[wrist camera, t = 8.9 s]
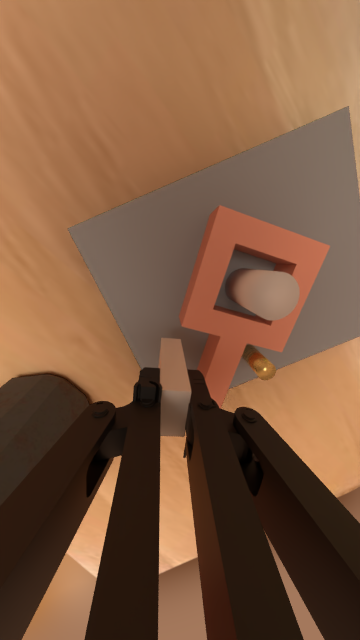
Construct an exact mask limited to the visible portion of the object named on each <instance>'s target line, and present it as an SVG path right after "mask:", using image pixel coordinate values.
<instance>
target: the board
mask: <svg viewBox="0 0 360 640" xmlns="http://www.w3.org/2000/svg"><path fill="white" fill-rule="evenodd" d="M219 205H221V206H224V207H227V208H229V209H232V210H235V211H237V212H240V213H243V214H245V215H248V216H251V217H254V218H256V219H259V220H262V221H264V222H267V223H270V224H272V225H275V226H278V227H281V228H283V229H286V230H289V231H291V232H294V233H297V234H299V235H302V236H305V237H308V238H310V239H313V240H316V241H318V242H321V243H324V244H327V245H329V246H330V248H329V250H328V252H327V255H326V257H325V259H324V261H323V263H322V266H321V268H320V270H319V272H318V274H317V277H316V279H315V281H314V283H313V285H312V288H311V290H310V292H309V294H308V296H307V299H306V301H305V303H304V305H303V307H302V309H301V312H300V314H299V316H298V318H297V320H296V323H295V325H294V327H293V329H292V331H291V334H290V336H289V338H288V340H287V342H286V345H285V347H284V349H283V351H282V352H278V351H274V350H270V349H267V348H263V347H259V346H255V345H253V346H254V347H255V348H256V349H257V350H258V351H259V352H260V353H261V354H262V355H264V356H265V357H266V358H267V359H268V360H269V361H270V362H271V363H272V364H273V365H274V366H275V367H276V370H277V369H280V368H282V367H285V366H287V365H290V364H292V363H295V362H297V361H300V360H302V359H305V358H307V357H310V356H312V355H315V354H317V353H320V352H322V351H325V350H327V349H329V348H332V347H334V346H337V345H339V344H342V343H344V342H347V341H349V340H352V339H354V338H357V337H359V336H360V197H359V188H358V180H357V171H356V163H355V155H354V146H353V138H352V129H351V121H350V113H349V106H348V107H345V108H343V109H341V110H338V111H336V112H334V113H331V114H329V115H327V116H325V117H322V118H320V119H318V120H315V121H313V122H311V123H309V124H306V125H304V126H302V127H299V128H297V129H295V130H292V131H290V132H288V133H286V134H283V135H281V136H279V137H276V138H274V139H272V140H270V141H267V142H265V143H263V144H260V145H258V146H256V147H253V148H251V149H249V150H247V151H244V152H242V153H240V154H237V155H235V156H233V157H230V158H228V159H226V160H224V161H221V162H219V163H217V164H214V165H212V166H210V167H208V168H205V169H203V170H201V171H198V172H196V173H194V174H191V175H189V176H187V177H185V178H182V179H180V180H178V181H175V182H173V183H171V184H169V185H166V186H164V187H162V188H159V189H157V190H155V191H152V192H150V193H148V194H146V195H143V196H141V197H139V198H136V199H134V200H132V201H129V202H127V203H125V204H123V205H120V206H118V207H116V208H113V209H111V210H109V211H107V212H104V213H102V214H100V215H97V216H95V217H93V218H90V219H88V220H86V221H84V222H81V223H79V224H77V225H74V226H72V227H70V228H68V231H69V233H70V235H71V237H72V238H73V240H74V242H75V244H76V246H77V248H78V250H79V252H80V254H81V255H82V257H83V259H84V261H85V263H86V265H87V267H88V269H89V271H90V273H91V274H92V276H93V278H94V280H95V282H96V284H97V286H98V288H99V290H100V292H101V293H102V295H103V297H104V299H105V301H106V303H107V305H108V307H109V309H110V311H111V312H112V314H113V316H114V318H115V320H116V322H117V324H118V326H119V328H120V330H121V331H122V333H123V335H124V337H125V339H126V341H127V343H128V345H129V347H130V349H131V350H132V352H133V354H134V356H135V358H136V360H137V362H138V364H139V366H140V367H141V369H143V368H144V367H151V368H158V367H159V357H160V347H161V338H172V339H181V344H182V348H183V353H184V358H185V363H186V368H187V369H190V370H197V368H198V365H199V362H200V359H201V356H202V353H203V350H204V348H205V345H206V342H207V339H208V336H209V333H205V332H201V331H198V330H194V329H190V328H186V327H182V326H181V322H180V319H179V314H180V311H181V308H182V304H183V301H184V298H185V295H186V291H187V288H188V285H189V282H190V278H191V275H192V272H193V268H194V265H195V262H196V259H197V255H198V252H199V249H200V246H201V242H202V239H203V236H204V232H205V229H206V226H207V223H208V219H209V216H210V214H211V213H212V212H213V211H214V210H215V209H216V208H217V207H218V206H219ZM275 266H276V263H273V262H270V261H267V260H264V259H261V258H258V257H255V256H252V255H250V254H247V253H244V252H241V251H238V250H235V249H234V250H233V253H232V256H231V259H230V261H229V264H228V267H227V270H226V273H225V276H224V279H223V282H222V285H221V288H220V290H219V293H218V296H217V299H216V302H215V305H217V306H220V307H224V308H227V309H231V310H234V311H238V312H241V313H245V314H248V315H252V316H255V315H258V316H260V317H262V318H264V319H266V320H279V319H282V318H284V317H286V316H287V315H289V314H290V313H291V312H292V311H293V310H294V308H295V307H296V305H297V303H298V300H299V295H300V290H299V285H298V283H297V281H296V280H295V278H294V277H293V276H291V275H290V274H288V273H285V272H278V271H274V268H275ZM246 345H247V344H246ZM250 345H251V344H250ZM257 377H258V376H257V374H256V373H255V372H254V371H253V370H252V368H251V367H250V366H249V365H248V364H247V362H246V361H245V360H244V359H243V358H242V357H241V359H240V361H239V364H238V366H237V369H236V371H235V374H234V376H233V379H232V381H231V384H230V386H229V389H230V388H233V387H235V386H238V385H240V384H243V383H245V382H248V381H250V380H253V379H255V378H257Z"/></svg>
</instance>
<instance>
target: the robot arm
mask: <svg viewBox="0 0 360 640" xmlns="http://www.w3.org/2000/svg"><path fill="white" fill-rule="evenodd" d="M185 430H186V436H187V437H186V443H185V449H184V456H183V458H186V456H187V465H188V474H189V483H190V492H191V501H192V509H193V518H194V527H195V536H196V545H197V554H198V562H199V571H200V580H201V588H202V598H203V606H204V615H205V624H206V633H207V640H304V639H303V636H302V634H301V631H300V628H299V625H298V623H297V620H296V617H295V615H294V612H293V609H292V606H291V604H290V601H289V598H288V595H287V593H286V590H285V587H284V584H283V582H282V579H281V576H280V573H279V571H278V568H277V565H276V562H275V560H274V557H273V554H272V551H271V549H270V546H269V543H268V540H267V538H266V535H265V532H266V534H267V536H268V538H269V540H270V541H271V543H272V545H273V547H274V549H275V550H276V552H277V554H278V556H279V558H280V560H281V561H282V563H283V565H284V567H285V568H286V570H287V572H288V574H289V576H290V578H291V580H292V581H293V583H294V585H295V587H296V589H297V590H298V592H299V594H300V596H301V598H302V600H303V601H304V603H305V605H306V607H307V609H308V610H309V612H310V614H311V616H312V618H313V620H314V621H315V623H316V625H317V627H318V629H319V630H320V632H321V634H322V636H323V638H324V639H325V640H360V523H359V522H358V521H357V520H356V519H355V518H354V517H353V516H352V515H351V514H350V512H349V511H348V510H347V509H346V508H345V507H344V506H343V505H342V504H341V503H340V501H339V500H338V499H337V498H336V497H335V496H334V495H333V494H332V493H331V492H330V490H329V489H328V488H327V487H326V486H325V485H324V484H323V483H322V482H321V481H320V479H319V478H318V477H317V476H316V475H315V474H314V473H313V472H312V471H311V470H310V468H309V467H308V466H307V465H306V464H305V463H304V462H303V461H302V460H301V459H300V458H299V456H298V455H297V454H296V453H295V452H294V451H293V450H292V449H291V448H290V447H289V445H288V444H287V443H286V442H285V441H284V440H283V439H282V438H281V437H280V436H279V434H278V433H277V432H276V431H275V430H274V429H273V428H272V427H271V426H270V425H269V424H268V422H267V421H266V420H265V419H264V418H263V417H262V416H261V415H260V414H259V413H258V412H257V411H255V410H253V409H251V408H247V407H240V408H237V409H236V411H235V413H232V412H228V411H225V410H222V409H220V408H219V406H218V404H217V402H216V401H214V400H213V399H212V398H211V396H210V393H209V390H208V387H207V385H206V382H205V379H204V376H203V374H202V373H201V372H200V371H199V370H190V369H187V368H186V363H185V358H184V353H183V348H182V344H181V339H172V338H161V347H160V357H159V367H158V368H151V367H144V368H143V369H142V370H141V371H140V375H139V380H138V382H137V383H136V384H135V385H134V393H133V401H132V402H131V403H130V404H128V405H126V406H123V407H118V408H115V406H114V405H113V404H112V403H110V402H108V401H99V402H95V403H93V404H90V405H89V406H88V407H87V408H86V409H85V410H84V411H83V412H82V413H81V414H80V416H79V417H78V418H77V419H76V420H75V421H74V422H73V424H72V425H71V426H70V427H69V428H68V429H67V430H66V432H65V433H64V434H63V435H62V436H61V437H60V438H59V440H58V441H57V442H56V443H55V444H54V445H53V446H52V448H51V449H50V450H49V451H48V452H47V453H46V454H45V455H44V457H43V458H42V459H41V460H40V461H39V462H38V463H37V465H36V466H35V467H34V468H33V469H32V470H31V471H30V473H29V474H28V475H27V476H26V477H25V478H24V479H23V481H22V482H21V483H20V484H19V485H18V486H17V487H16V489H15V490H14V491H13V492H12V493H11V494H10V495H9V496H8V498H7V499H6V500H5V501H4V502H3V503H2V504H1V506H0V640H22V638H23V636H24V634H25V632H26V630H27V628H28V626H29V624H30V622H31V620H32V618H33V616H34V614H35V612H36V610H37V608H38V606H39V604H40V602H41V600H42V598H43V596H44V594H45V593H46V591H47V589H48V587H49V585H50V583H51V581H52V579H53V577H54V575H55V573H56V571H57V569H58V567H59V565H60V563H61V561H62V559H63V557H64V555H65V553H66V551H67V550H68V548H69V546H70V544H71V542H72V540H73V538H74V536H75V534H76V532H77V530H78V528H79V526H80V524H81V522H82V520H83V518H84V516H85V514H86V512H87V510H88V508H89V506H90V504H91V503H92V501H93V499H94V497H95V495H96V493H97V491H98V489H99V487H100V485H101V483H102V481H103V479H104V477H105V475H106V473H107V471H108V469H109V467H110V465H111V463H112V461H113V458H114V457H117V456H120V455H122V458H121V463H120V468H119V473H118V478H117V482H116V487H115V492H114V497H113V502H112V507H111V512H110V517H109V522H108V527H107V532H106V537H105V541H104V546H103V551H102V556H101V561H100V566H99V571H98V576H97V581H96V586H95V591H94V596H93V601H92V605H91V611H90V615H89V621H88V625H87V630H86V635H85V640H158V584H159V583H158V582H159V579H158V578H159V504H160V436H180V437H184V436H185ZM264 531H265V532H264Z"/></svg>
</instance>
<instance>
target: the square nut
mask: <svg viewBox="0 0 360 640" xmlns="http://www.w3.org/2000/svg"><path fill="white" fill-rule="evenodd" d="M329 248H330V246H329V245H327V244H324V243H321V242H318V241H316V240H313V239H310V238H308V237H305V236H302V235H299V234H297V233H294V232H291V231H289V230H286V229H283V228H281V227H278V226H275V225H272V224H270V223H267V222H264V221H262V220H259V219H256V218H254V217H251V216H248V215H245V214H243V213H240V212H237V211H235V210H232V209H229V208H227V207H224V206H221V205H219V206H218V207H217V208H216V209H215V210H214V211H213V212H212V213H211V214H210V216H209V219H208V223H207V226H206V229H205V232H204V236H203V239H202V242H201V246H200V249H199V252H198V255H197V259H196V262H195V265H194V268H193V272H192V275H191V278H190V282H189V285H188V288H187V291H186V295H185V298H184V301H183V304H182V308H181V311H180V314H179V319H180V322H181V326H182V327H186V328H190V329H194V330H198V331H201V332H205V333H209V336H208V339H207V342H206V345H205V348H204V350H203V353H202V356H201V359H200V362H199V365H198V368H197V370H199V371H200V372H201V373H202V374H203V376H204V379H205V382H206V385H207V387H208V390H209V393H210V396H211V398H212V399H213V400H214V401H216V402H217V404H218V406H219V408H221V406H222V403H223V401H224V399H225V396H226V394H227V391H228V389H229V386H230V384H231V381H232V379H233V376H234V374H235V371H236V369H237V366H238V364H239V361H240V359H241V357H242V354H243V352H244V349H245V347H246V344H251V345H255V346H259V347H263V348H267V349H270V350H274V351H278V352H282V351H283V349H284V347H285V345H286V342H287V340H288V338H289V336H290V334H291V331H292V329H293V327H294V325H295V323H296V320H297V318H298V316H299V314H300V312H301V309H302V307H303V305H304V303H305V301H306V299H307V296H308V294H309V292H310V290H311V288H312V285H313V283H314V281H315V279H316V277H317V274H318V272H319V270H320V268H321V266H322V263H323V261H324V259H325V257H326V255H327V252H328V250H329ZM234 249H235V250H238V251H241V252H244V253H247V254H250V255H252V256H255V257H258V258H261V259H264V260H267V261H270V262H273V263H276V266H275V268H274V271H278V272H285V273H288V274H290V275H291V276H293V277H294V278H295V280H296V281H297V283H298V285H299V290H300V295H299V300H298V303H297V305H296V307H295V308H294V310H293V311H292V312H291V313H290V314H289V315H287V316H286V317H284V318H282V319H279V320H266V319H264V318H262V317H260V316H258V315H255V316H252V315H248V314H245V313H241V312H238V311H234V310H231V309H227V308H224V307H220V306H217V305H215V302H216V299H217V296H218V293H219V290H220V288H221V285H222V282H223V279H224V276H225V273H226V270H227V267H228V264H229V261H230V259H231V256H232V253H233V250H234Z"/></svg>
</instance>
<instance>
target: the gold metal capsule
mask: <svg viewBox="0 0 360 640" xmlns="http://www.w3.org/2000/svg"><path fill="white" fill-rule="evenodd" d="M242 358H243V359H244V360H245V361H246V362H247V364H248V365H249V366H250V367H251V368H252V370H253V371H254V372H255V373H256V374H257V376H258V377H259V378H260V379H262V380H269V379H271V378H272V377H273V376H274V375H275V373H276V367H275V366H274V365H273V364H272V363H271V362H270V361H269V360H268V359H267V358H266V357H265V356H264V355H262V354H261V353H260V352H259V351H258V350H257V349H256V348H255V347H254V346H253V345H250V344H247V345H246V347H245V349H244V352H243V354H242Z"/></svg>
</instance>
